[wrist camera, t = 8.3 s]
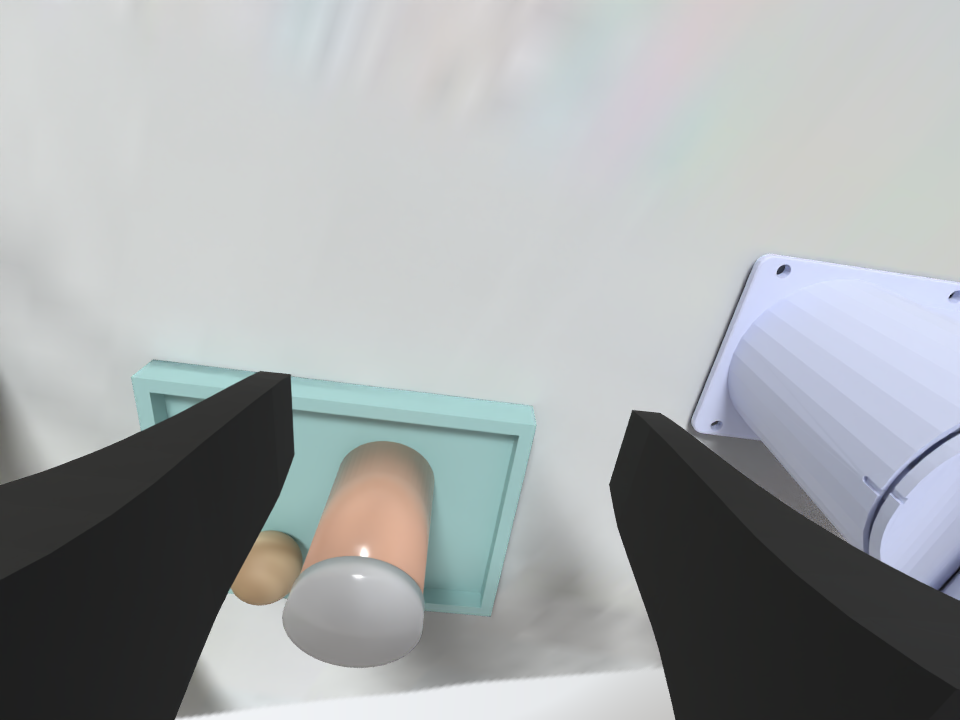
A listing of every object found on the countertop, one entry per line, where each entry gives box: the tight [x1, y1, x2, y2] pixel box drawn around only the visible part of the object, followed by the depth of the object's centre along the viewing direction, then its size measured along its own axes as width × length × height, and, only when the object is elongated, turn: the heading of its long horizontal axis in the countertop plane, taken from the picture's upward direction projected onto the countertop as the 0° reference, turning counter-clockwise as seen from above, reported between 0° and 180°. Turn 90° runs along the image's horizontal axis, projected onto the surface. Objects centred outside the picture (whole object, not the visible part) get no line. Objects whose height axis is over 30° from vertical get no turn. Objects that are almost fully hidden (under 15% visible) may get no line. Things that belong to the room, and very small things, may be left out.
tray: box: [131, 360, 536, 617], centre depth 24 cm, size 16×12×2 cm
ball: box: [231, 530, 303, 605], centre depth 23 cm, size 3×3×3 cm
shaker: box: [282, 441, 435, 668], centre depth 20 cm, size 5×5×7 cm
